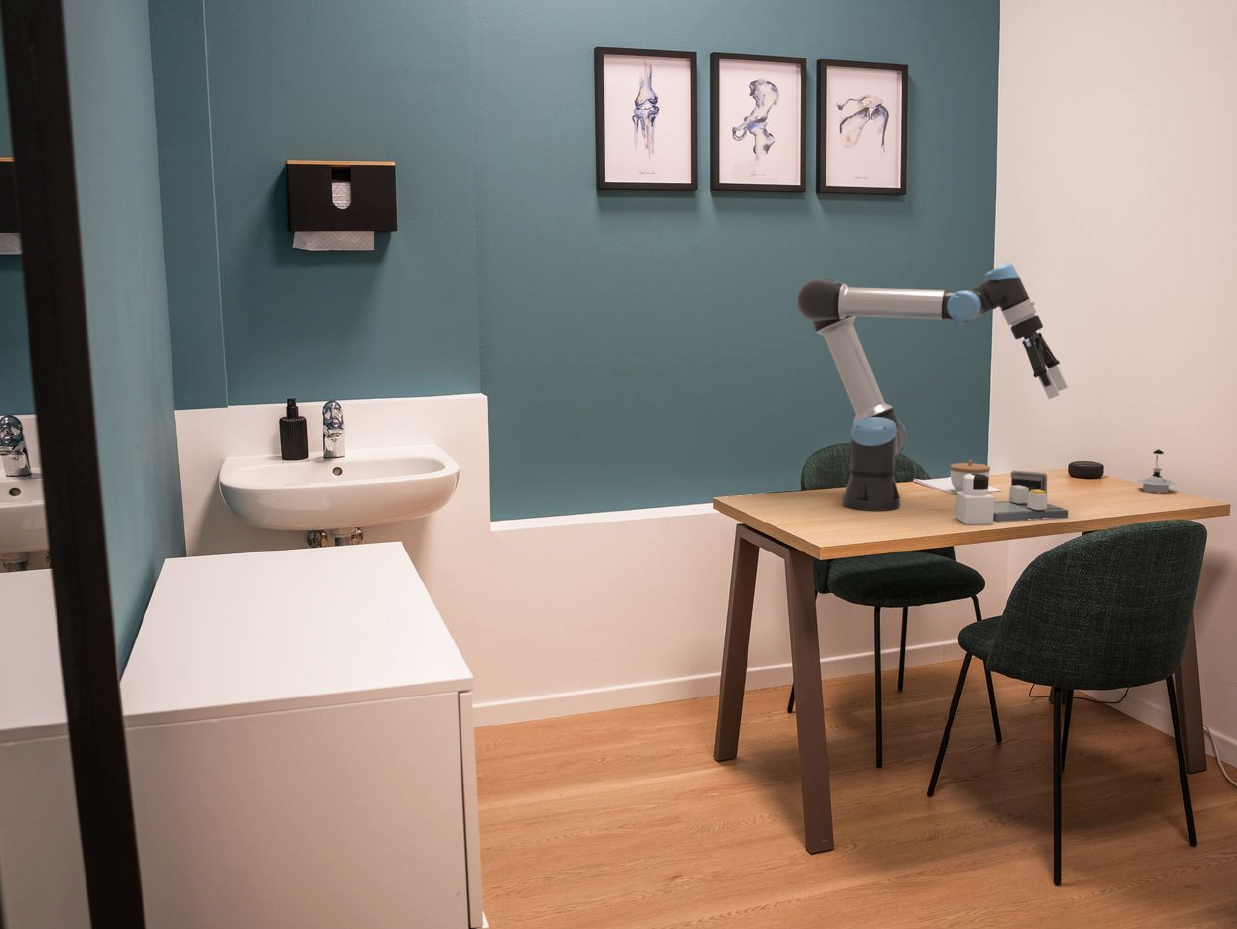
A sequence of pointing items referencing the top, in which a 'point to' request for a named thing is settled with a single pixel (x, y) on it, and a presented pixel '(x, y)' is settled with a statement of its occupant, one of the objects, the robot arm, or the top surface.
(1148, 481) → the grey stand with stem
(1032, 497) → the block
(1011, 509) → the panel
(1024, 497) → the breaker
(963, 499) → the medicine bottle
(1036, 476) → the electrical switch
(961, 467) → the lidded jar
